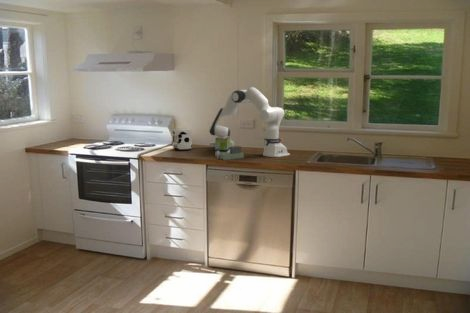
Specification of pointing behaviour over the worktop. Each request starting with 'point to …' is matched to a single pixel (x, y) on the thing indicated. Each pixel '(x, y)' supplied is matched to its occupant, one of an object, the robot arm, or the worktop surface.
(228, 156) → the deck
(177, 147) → the milk container
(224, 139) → the tea box
